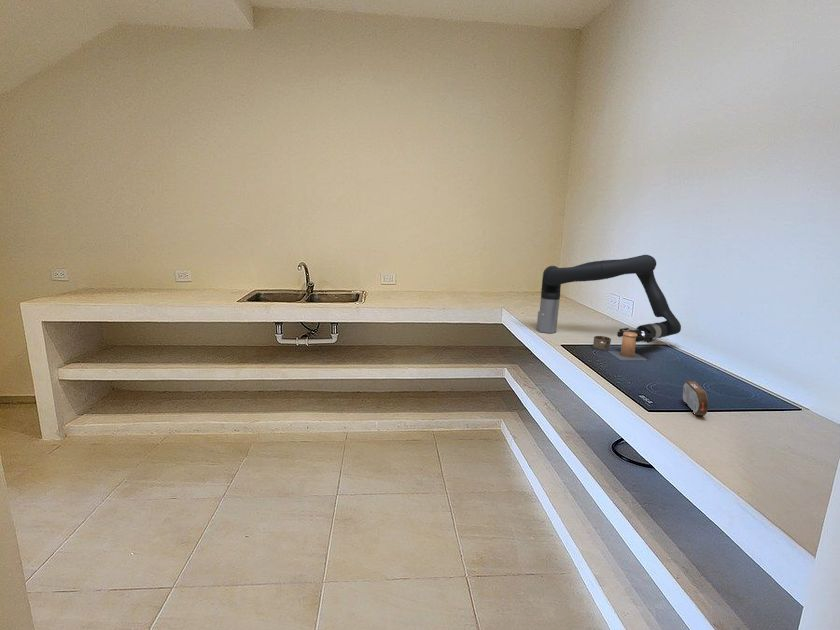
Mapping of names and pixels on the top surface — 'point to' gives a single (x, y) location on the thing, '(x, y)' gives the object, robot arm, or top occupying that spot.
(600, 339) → the canister
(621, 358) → the mat
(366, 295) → the top surface
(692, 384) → the tin
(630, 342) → the tan cylinder
